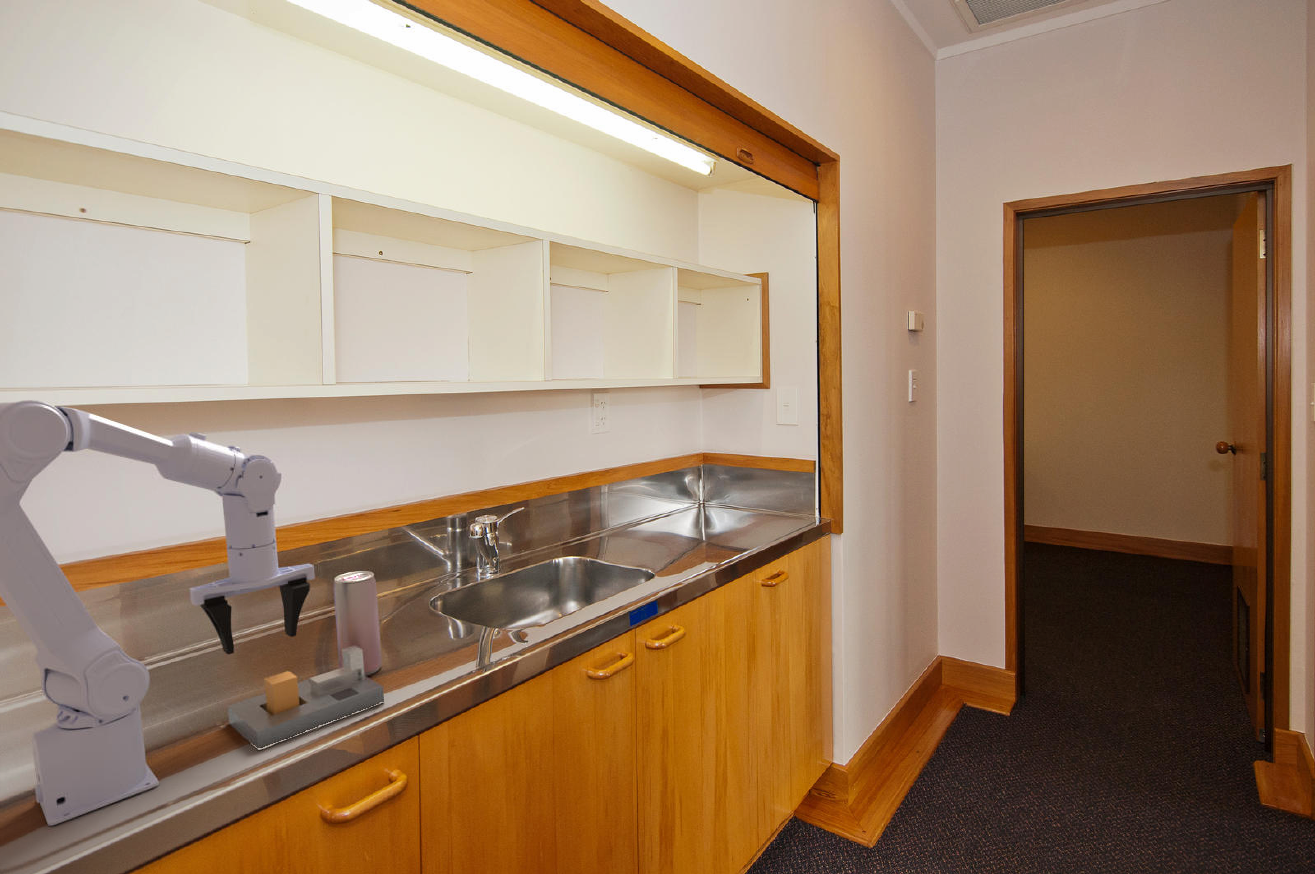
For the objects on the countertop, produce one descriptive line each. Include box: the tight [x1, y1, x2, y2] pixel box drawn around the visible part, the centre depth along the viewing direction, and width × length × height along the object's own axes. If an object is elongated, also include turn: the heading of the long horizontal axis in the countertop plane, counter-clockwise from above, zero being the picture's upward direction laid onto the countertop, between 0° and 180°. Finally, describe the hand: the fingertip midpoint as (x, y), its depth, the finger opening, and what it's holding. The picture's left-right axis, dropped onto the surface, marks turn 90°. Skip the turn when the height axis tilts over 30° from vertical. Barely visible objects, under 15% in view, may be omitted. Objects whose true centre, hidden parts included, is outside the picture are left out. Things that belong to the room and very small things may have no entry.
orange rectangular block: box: [263, 670, 299, 716], centre depth 93 cm, size 3×3×6 cm
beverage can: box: [332, 570, 383, 677], centre depth 108 cm, size 6×6×15 cm
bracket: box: [309, 646, 365, 696], centre depth 98 cm, size 6×2×4 cm, turn 137°
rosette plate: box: [227, 676, 385, 748], centre depth 95 cm, size 16×11×2 cm
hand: (260, 643), depth 95 cm, fingers open, 7 cm apart
